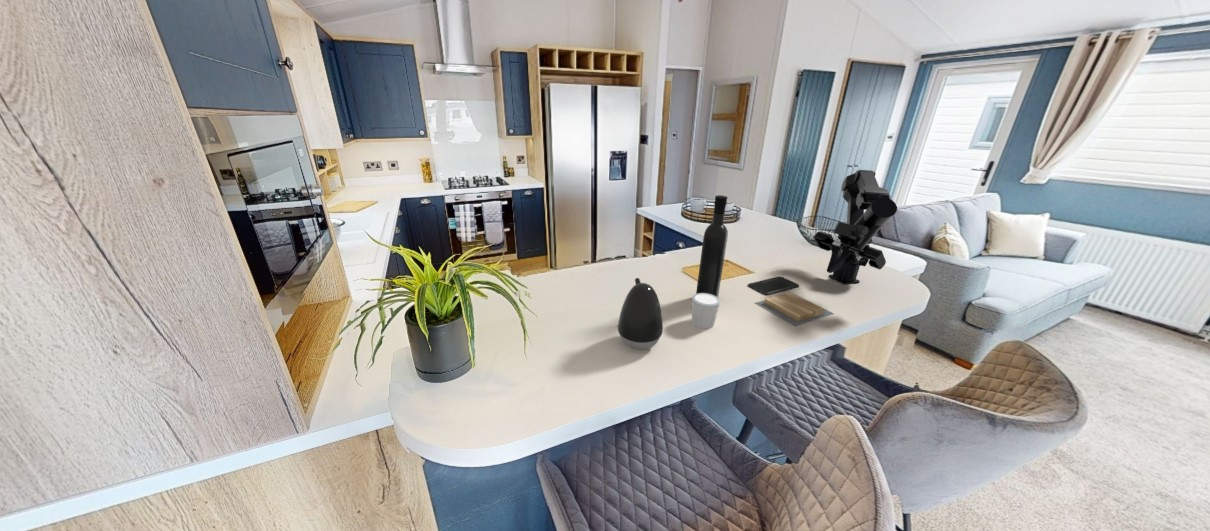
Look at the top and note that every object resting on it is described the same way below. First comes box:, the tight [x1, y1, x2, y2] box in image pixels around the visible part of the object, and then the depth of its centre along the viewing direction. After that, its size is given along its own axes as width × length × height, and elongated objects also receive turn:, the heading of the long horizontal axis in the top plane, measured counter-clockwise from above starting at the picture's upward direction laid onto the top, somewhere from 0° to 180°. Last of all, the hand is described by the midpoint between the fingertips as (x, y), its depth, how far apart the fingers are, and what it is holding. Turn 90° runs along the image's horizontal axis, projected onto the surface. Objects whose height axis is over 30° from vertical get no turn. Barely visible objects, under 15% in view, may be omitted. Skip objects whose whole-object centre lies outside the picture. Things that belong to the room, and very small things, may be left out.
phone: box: [747, 276, 800, 296], centre depth 120 cm, size 8×1×15 cm
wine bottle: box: [695, 195, 729, 298], centre depth 104 cm, size 6×6×30 cm
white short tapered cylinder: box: [691, 293, 721, 330], centre depth 97 cm, size 7×7×7 cm
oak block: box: [764, 291, 825, 322], centre depth 106 cm, size 2×11×10 cm
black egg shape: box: [617, 277, 664, 351], centre depth 87 cm, size 10×10×15 cm
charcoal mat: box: [754, 299, 835, 327], centre depth 107 cm, size 16×14×1 cm
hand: (828, 271), depth 108 cm, fingers closed
